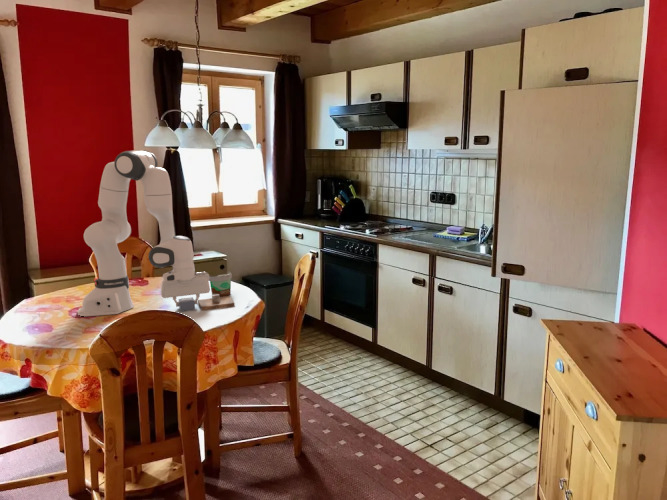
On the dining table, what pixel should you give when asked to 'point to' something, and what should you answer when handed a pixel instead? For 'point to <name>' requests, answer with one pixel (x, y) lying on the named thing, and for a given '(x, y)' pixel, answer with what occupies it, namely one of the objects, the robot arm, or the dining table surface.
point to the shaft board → (216, 302)
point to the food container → (221, 284)
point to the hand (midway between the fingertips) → (186, 305)
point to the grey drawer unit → (187, 304)
